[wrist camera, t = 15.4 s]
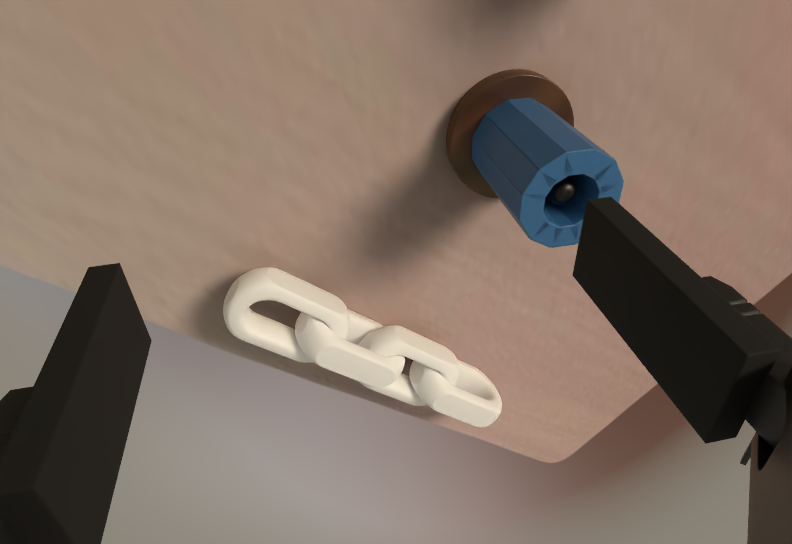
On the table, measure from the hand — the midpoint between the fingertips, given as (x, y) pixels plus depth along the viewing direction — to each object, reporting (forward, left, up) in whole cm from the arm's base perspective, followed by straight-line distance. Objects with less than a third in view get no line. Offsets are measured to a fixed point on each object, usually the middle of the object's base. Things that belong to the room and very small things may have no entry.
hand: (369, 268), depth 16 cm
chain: (+25, -11, -27) cm, 38 cm away
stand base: (+14, +9, -27) cm, 31 cm away
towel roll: (+14, +9, -25) cm, 30 cm away
